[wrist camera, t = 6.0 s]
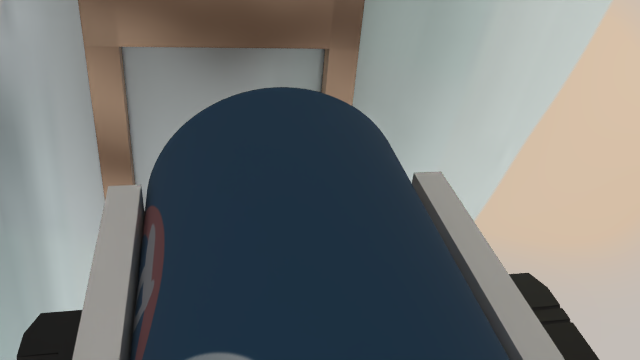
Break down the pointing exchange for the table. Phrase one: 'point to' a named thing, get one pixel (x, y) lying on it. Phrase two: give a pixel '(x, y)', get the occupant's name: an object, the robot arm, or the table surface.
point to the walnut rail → (205, 31)
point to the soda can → (295, 244)
